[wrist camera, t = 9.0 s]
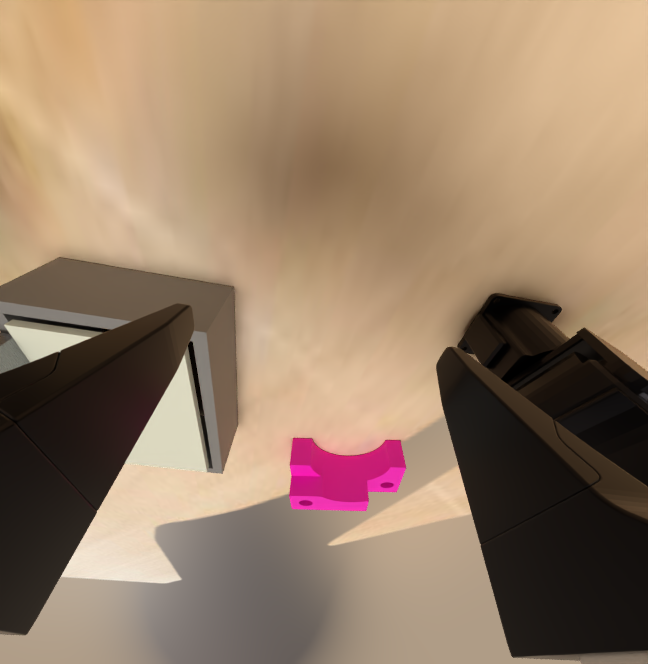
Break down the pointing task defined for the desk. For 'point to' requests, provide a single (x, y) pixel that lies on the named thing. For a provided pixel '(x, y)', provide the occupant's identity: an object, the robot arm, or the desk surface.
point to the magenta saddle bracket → (342, 476)
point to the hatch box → (133, 303)
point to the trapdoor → (166, 421)
